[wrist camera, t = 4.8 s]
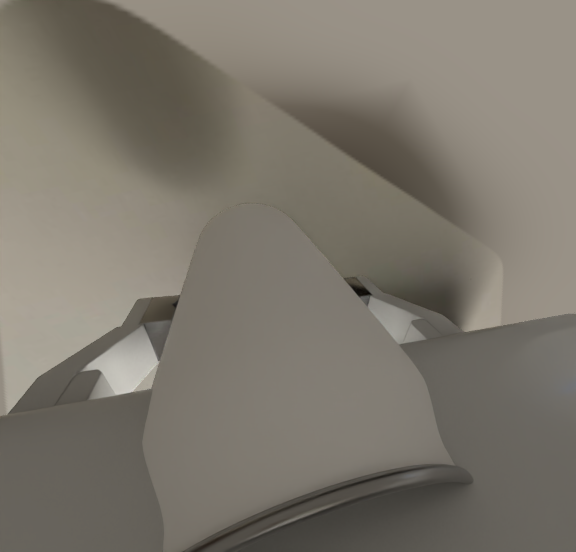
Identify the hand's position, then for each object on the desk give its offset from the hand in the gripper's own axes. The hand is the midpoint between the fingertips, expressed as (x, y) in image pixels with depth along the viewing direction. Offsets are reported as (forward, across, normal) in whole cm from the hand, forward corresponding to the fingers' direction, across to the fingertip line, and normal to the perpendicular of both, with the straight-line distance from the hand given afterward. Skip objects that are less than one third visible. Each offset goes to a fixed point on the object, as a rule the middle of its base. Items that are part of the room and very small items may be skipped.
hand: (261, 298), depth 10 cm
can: (+5, 0, 0) cm, 5 cm away
